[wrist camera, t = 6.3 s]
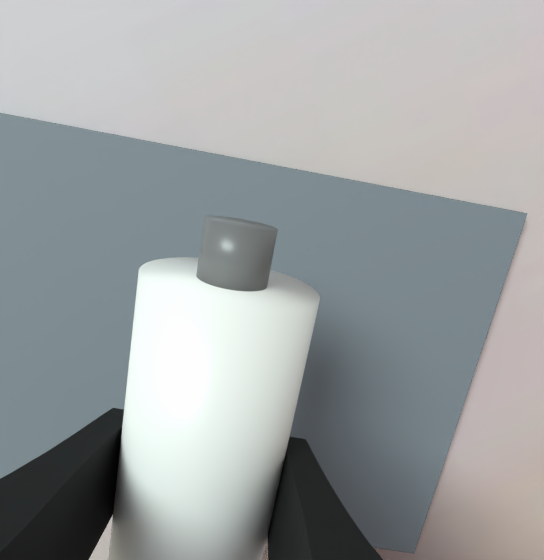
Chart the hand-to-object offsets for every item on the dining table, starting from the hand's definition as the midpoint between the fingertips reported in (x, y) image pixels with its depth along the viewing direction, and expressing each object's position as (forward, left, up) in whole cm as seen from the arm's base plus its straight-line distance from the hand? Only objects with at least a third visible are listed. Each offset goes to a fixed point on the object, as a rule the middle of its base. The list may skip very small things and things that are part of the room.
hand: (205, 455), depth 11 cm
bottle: (0, 0, -1) cm, 1 cm away
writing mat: (0, 0, -6) cm, 6 cm away
